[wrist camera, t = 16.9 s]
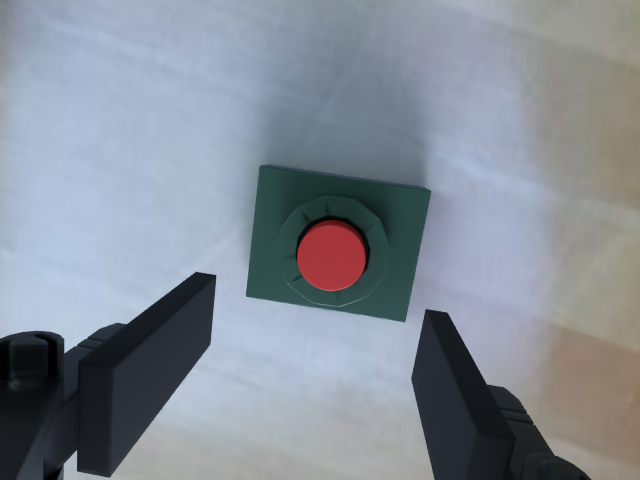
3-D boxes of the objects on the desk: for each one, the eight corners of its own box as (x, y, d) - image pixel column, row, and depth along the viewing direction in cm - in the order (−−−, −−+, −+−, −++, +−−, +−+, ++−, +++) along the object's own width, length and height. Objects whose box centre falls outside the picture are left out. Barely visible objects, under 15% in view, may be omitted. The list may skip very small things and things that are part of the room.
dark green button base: (425, 187, 29) (436, 193, 25) (401, 311, 31) (408, 334, 27) (266, 164, 29) (252, 166, 25) (253, 286, 31) (238, 306, 27)
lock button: (369, 225, 26) (370, 230, 24) (359, 286, 27) (359, 296, 25) (305, 215, 26) (301, 219, 24) (297, 276, 27) (293, 285, 25)
